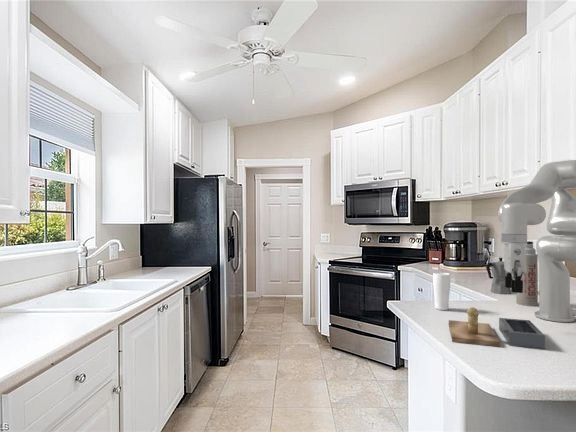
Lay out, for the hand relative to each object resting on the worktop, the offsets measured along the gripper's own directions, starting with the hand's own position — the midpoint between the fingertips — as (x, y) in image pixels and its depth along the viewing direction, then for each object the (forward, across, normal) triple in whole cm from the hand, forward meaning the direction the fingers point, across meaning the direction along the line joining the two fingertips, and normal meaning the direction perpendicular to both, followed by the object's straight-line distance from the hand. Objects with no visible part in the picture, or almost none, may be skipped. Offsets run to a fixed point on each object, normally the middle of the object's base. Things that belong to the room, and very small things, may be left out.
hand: (513, 290), depth 124 cm
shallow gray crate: (+14, -7, -1) cm, 16 cm away
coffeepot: (+13, +72, -8) cm, 74 cm away
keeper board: (+14, -8, +13) cm, 21 cm away
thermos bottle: (+13, +48, -14) cm, 52 cm away
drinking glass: (+14, +25, +21) cm, 36 cm away
